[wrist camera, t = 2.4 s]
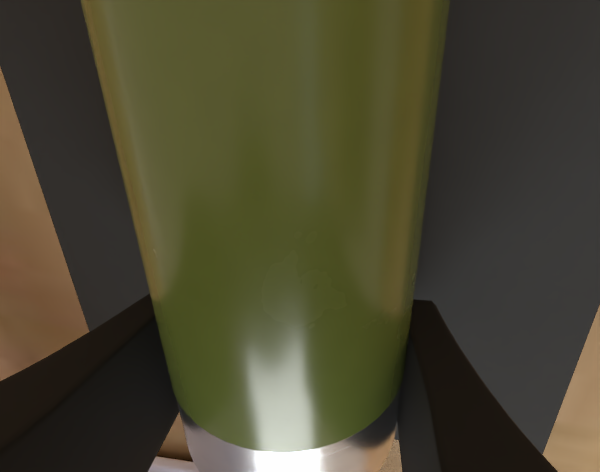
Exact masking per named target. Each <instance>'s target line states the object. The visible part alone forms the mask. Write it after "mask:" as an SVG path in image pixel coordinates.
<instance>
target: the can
mask: <svg viewBox="0 0 600 472" xmlns="http://www.w3.org/2000/svg"><path fill="white" fill-rule="evenodd" d="M80 1H81V5H82V9H83V14H84V18H85V22H86V26H87V30H88V35H89V39H90V43H91V47H92V51H93V56H94V60H95V64H96V68H97V72H98V77H99V81H100V85H101V89H102V94H103V98H104V102H105V106H106V110H107V115H108V119H109V123H110V127H111V131H112V136H113V140H114V144H115V148H116V152H117V157H118V161H119V165H120V169H121V173H122V178H123V182H124V186H125V190H126V195H127V199H128V203H129V207H130V211H131V216H132V220H133V224H134V228H135V232H136V237H137V241H138V245H139V249H140V253H141V258H142V262H143V266H144V270H145V275H146V279H147V283H148V287H149V291H150V296H151V300H152V304H153V308H154V312H155V317H156V321H157V325H158V329H159V333H160V338H161V342H162V346H163V350H164V355H165V359H166V363H167V367H168V371H169V376H170V380H171V384H172V388H173V392H174V394H175V396H176V398H177V402H178V406H179V411H180V415H181V419H182V424H183V428H184V432H185V436H186V441H187V445H188V449H189V452H190V455H191V457H192V460H193V462H194V464H195V466H196V467H197V469H198V470H199V472H378V471H379V470H380V469H381V467H382V466H383V464H384V462H385V460H386V459H387V457H388V455H389V453H390V450H391V448H392V445H393V442H394V437H395V432H396V425H397V417H398V409H399V400H400V392H401V384H402V380H403V376H404V371H405V363H406V355H407V347H408V339H409V330H410V323H411V315H412V307H413V299H414V291H415V283H416V275H417V267H418V258H419V250H420V242H421V234H422V226H423V218H424V210H425V202H426V193H427V185H428V177H429V169H430V161H431V153H432V145H433V137H434V128H435V120H436V112H437V104H438V96H439V88H440V80H441V72H442V64H443V55H444V47H445V39H446V31H447V23H448V15H449V7H450V0H80Z"/></svg>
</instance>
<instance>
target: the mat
mask: <svg viewBox="0 0 600 472" xmlns="http://www.w3.org/2000/svg"><path fill="white" fill-rule="evenodd" d="M0 66H1V69H2V72H3V75H4V78H5V81H6V84H7V87H8V90H9V93H10V96H11V99H12V102H13V105H14V108H15V111H16V114H17V117H18V120H19V123H20V126H21V129H22V132H23V135H24V138H25V141H26V144H27V147H28V150H29V153H30V156H31V159H32V162H33V165H34V168H35V171H36V174H37V177H38V180H39V183H40V185H41V188H42V191H43V194H44V197H45V200H46V203H47V206H48V209H49V212H50V215H51V218H52V221H53V224H54V227H55V230H56V233H57V236H58V239H59V242H60V245H61V248H62V251H63V254H64V257H65V260H66V263H67V266H68V269H69V272H70V275H71V278H72V281H73V284H74V287H75V290H76V293H77V296H78V299H79V302H80V305H81V308H82V311H83V314H84V317H85V320H86V322H87V325H88V328H89V331H92V330H94V329H95V328H97V327H98V326H100V325H102V324H103V323H105V322H106V321H108V320H109V319H111V318H112V317H114V316H116V315H117V314H119V313H120V312H122V311H123V310H125V309H126V308H128V307H129V306H131V305H132V304H134V303H136V302H137V301H139V300H140V299H142V298H143V297H145V296H146V295H148V294H149V293H150V291H149V287H148V283H147V279H146V275H145V270H144V266H143V262H142V258H141V253H140V249H139V245H138V241H137V237H136V232H135V228H134V224H133V220H132V216H131V211H130V207H129V203H128V199H127V195H126V190H125V186H124V182H123V178H122V173H121V169H120V165H119V161H118V157H117V152H116V148H115V144H114V140H113V136H112V131H111V127H110V123H109V119H108V115H107V110H106V106H105V102H104V98H103V94H102V89H101V85H100V81H99V77H98V72H97V68H96V64H95V60H94V56H93V51H92V47H91V43H90V39H89V35H88V30H87V26H86V22H85V18H84V14H83V9H82V5H81V1H80V0H0ZM414 299H417V300H429V301H432V302H433V303H434V304H435V305H436V306H437V308H438V310H439V312H440V314H441V316H442V318H443V320H444V321H445V323H446V325H447V327H448V328H449V330H450V332H451V334H452V335H453V337H454V338H455V340H456V342H457V343H458V345H459V347H460V348H461V350H462V351H463V353H464V354H465V356H466V357H467V359H468V360H469V362H470V363H471V365H472V366H473V368H474V369H475V371H476V372H477V373H478V375H479V376H480V378H481V379H482V381H483V382H484V383H485V385H486V386H487V388H488V389H489V390H490V392H491V393H492V394H493V396H494V397H495V398H496V400H497V401H498V402H499V403H500V405H501V406H502V407H503V409H504V410H505V411H506V413H507V414H508V415H509V416H510V417H511V419H512V420H513V421H514V422H515V424H516V425H517V426H518V427H519V429H520V430H521V431H522V432H523V433H524V434H525V436H526V437H527V438H528V439H529V440H530V441H531V443H532V444H533V445H534V446H535V447H536V448H537V449H538V451H539V452H540V453H541V454H543V452H544V449H545V446H546V444H547V441H548V439H549V436H550V433H551V431H552V428H553V425H554V423H555V420H556V418H557V415H558V412H559V410H560V407H561V404H562V402H563V399H564V397H565V394H566V391H567V389H568V386H569V383H570V381H571V378H572V375H573V373H574V370H575V368H576V365H577V362H578V360H579V357H580V354H581V352H582V349H583V347H584V344H585V341H586V339H587V336H588V333H589V331H590V328H591V326H592V323H593V320H594V318H595V315H596V312H597V310H598V307H599V305H600V0H450V7H449V15H448V23H447V31H446V39H445V47H444V55H443V64H442V72H441V80H440V88H439V96H438V104H437V112H436V120H435V128H434V137H433V145H432V153H431V161H430V169H429V177H428V185H427V193H426V202H425V210H424V218H423V226H422V234H421V242H420V250H419V258H418V267H417V275H416V283H415V291H414ZM394 439H395V440H399V434H398V425H396V432H395V437H394Z"/></svg>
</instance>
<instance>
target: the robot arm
mask: <svg viewBox="0 0 600 472" xmlns="http://www.w3.org/2000/svg"><path fill="white" fill-rule="evenodd" d="M178 413H179V406H178V402H177V398H176V396H175V394H174V392H173V388H172V384H171V380H170V376H169V371H168V367H167V363H166V359H165V355H164V350H163V346H162V342H161V338H160V333H159V329H158V325H157V321H156V317H155V312H154V308H153V304H152V300H151V296H150V293H149V294H148V295H146V296H145V297H143V298H142V299H140V300H139V301H137V302H136V303H134V304H132V305H131V306H129V307H128V308H126V309H125V310H123V311H122V312H120V313H119V314H117V315H116V316H114V317H112V318H111V319H109V320H108V321H106V322H105V323H103V324H102V325H100V326H98V327H97V328H95V329H94V330H92V331H90V332H89V333H87V334H85V335H84V336H82V337H80V338H79V339H77V340H75V341H73V342H72V343H70V344H68V345H67V346H65V347H63V348H62V349H60V350H58V351H57V352H55V353H53V354H52V355H50V356H48V357H46V358H44V359H43V360H41V361H39V362H37V363H35V364H33V365H31V366H30V367H28V368H26V369H24V370H22V371H20V372H18V373H16V374H14V375H12V376H10V377H8V378H6V379H4V380H2V381H0V472H199V470H198V469H197V467H196V466H195V464H194V462H191V461H184V460H178V459H171V458H165V457H158V456H156V455H157V453H158V451H159V450H160V448H161V446H162V444H163V442H164V440H165V438H166V436H167V434H168V432H169V430H170V428H171V426H172V425H173V423H174V421H175V419H176V417H177V415H178ZM397 425H398V434H399V444H400V453H401V463H402V472H558V471H557V470H556V469H555V468H554V467H553V466H552V465H551V464H550V463H549V462H548V461H547V460H546V458H545V457H544V456H543V455H542V454H541V453H540V452H539V451H538V449H537V448H536V447H535V446H534V445H533V444H532V443H531V441H530V440H529V439H528V438H527V437H526V436H525V434H524V433H523V432H522V431H521V430H520V429H519V427H518V426H517V425H516V424H515V422H514V421H513V420H512V419H511V417H510V416H509V415H508V414H507V413H506V411H505V410H504V409H503V407H502V406H501V405H500V403H499V402H498V401H497V400H496V398H495V397H494V396H493V394H492V393H491V392H490V390H489V389H488V388H487V386H486V385H485V383H484V382H483V381H482V379H481V378H480V376H479V375H478V373H477V372H476V371H475V369H474V368H473V366H472V365H471V363H470V362H469V360H468V359H467V357H466V356H465V354H464V353H463V351H462V350H461V348H460V347H459V345H458V343H457V342H456V340H455V338H454V337H453V335H452V334H451V332H450V330H449V328H448V327H447V325H446V323H445V321H444V320H443V318H442V316H441V314H440V312H439V310H438V308H437V306H436V305H435V304H434V303H433V302H432V301H429V300H417V299H413V307H412V315H411V323H410V330H409V339H408V347H407V355H406V363H405V371H404V376H403V380H402V384H401V392H400V400H399V409H398V417H397Z"/></svg>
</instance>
